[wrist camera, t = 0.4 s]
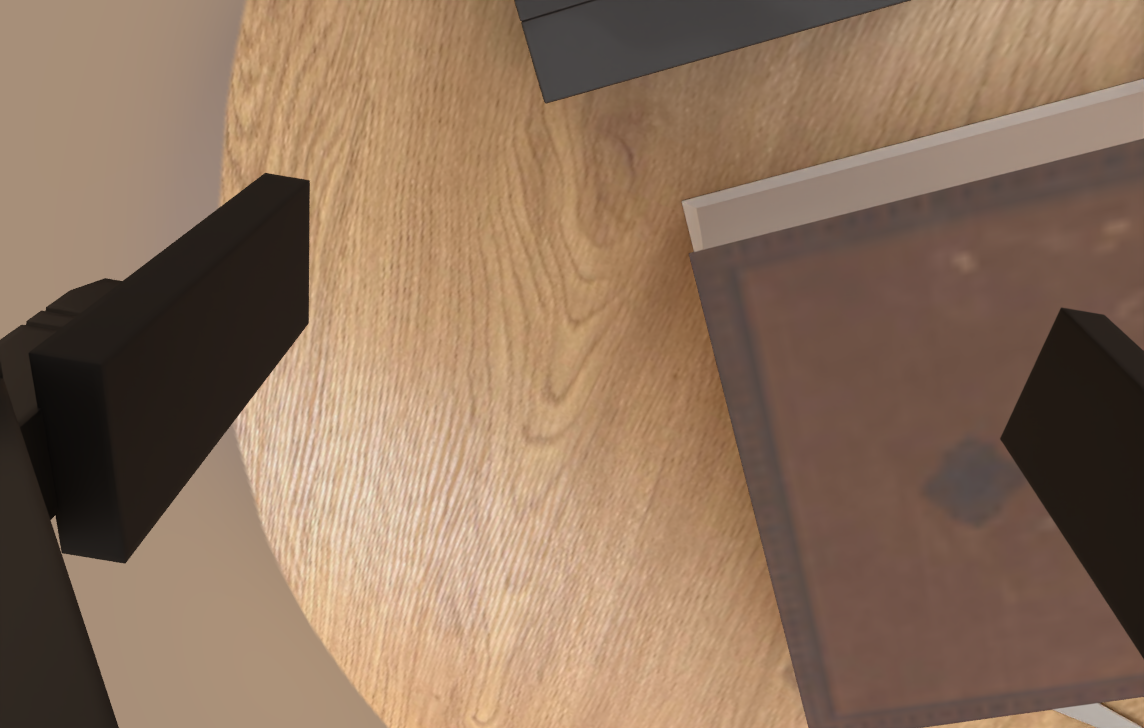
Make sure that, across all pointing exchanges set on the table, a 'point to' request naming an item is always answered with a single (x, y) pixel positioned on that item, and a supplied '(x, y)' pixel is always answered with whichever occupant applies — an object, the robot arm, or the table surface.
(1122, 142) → the book
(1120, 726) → the fork
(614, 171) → the table surface
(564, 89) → the holder
